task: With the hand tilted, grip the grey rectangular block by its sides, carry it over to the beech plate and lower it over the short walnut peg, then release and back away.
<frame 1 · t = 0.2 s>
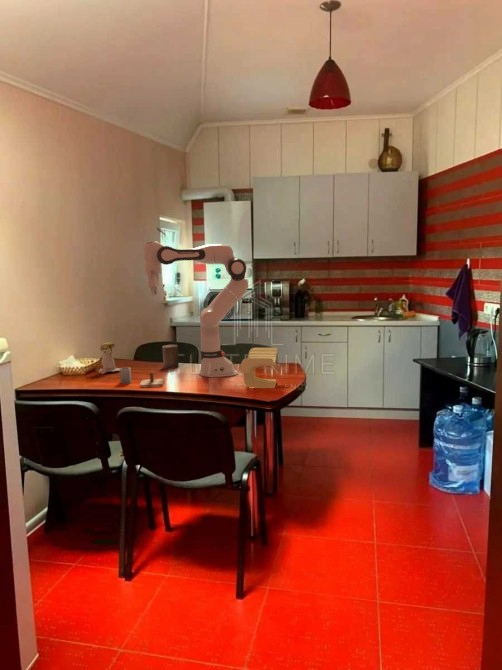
hand: (154, 294, 291), 48 cm above the table, tool pointing down, fingers open, 8 cm apart
grey rectangular block: (126, 382, 285), on the table
wooden slatted rack: (260, 385, 273), on the table
beige sitting figure: (109, 372, 314), on the table
post: (152, 384, 280), on the table
pillar candle: (171, 367, 324), on the table
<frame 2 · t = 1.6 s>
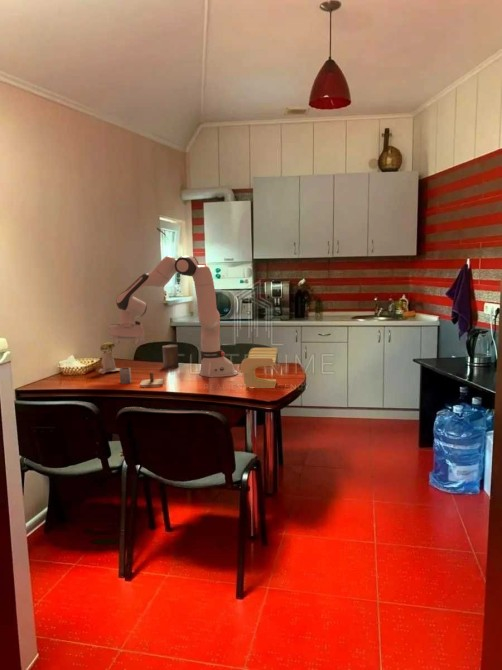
hand: (126, 344, 293), 20 cm above the table, tool tilted 45°, fingers open, 8 cm apart
nothing on the table moved.
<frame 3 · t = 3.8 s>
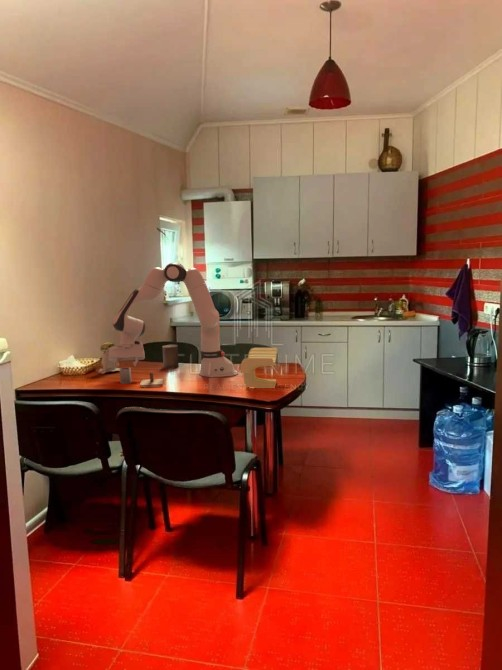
hand: (126, 365, 288), 9 cm above the table, tool tilted 45°, fingers open, 8 cm apart
nothing on the table moved.
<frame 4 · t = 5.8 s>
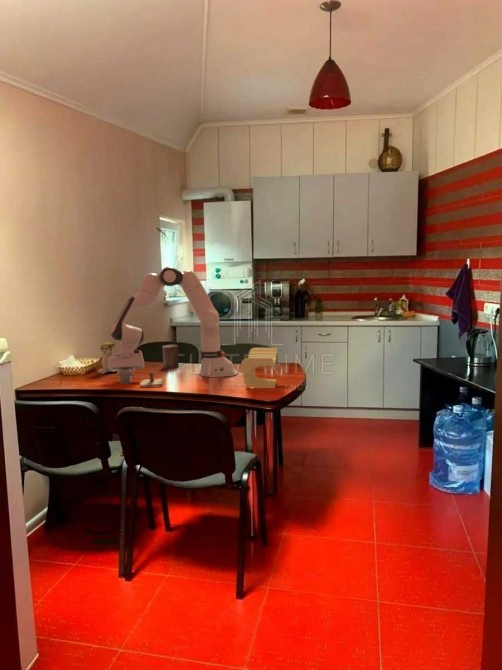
hand: (125, 375, 284), 4 cm above the table, tool tilted 45°, fingers closed on grey rectangular block, 5 cm apart
grey rectangular block: (126, 382, 285), on the table, touching gripper
everything else where it was.
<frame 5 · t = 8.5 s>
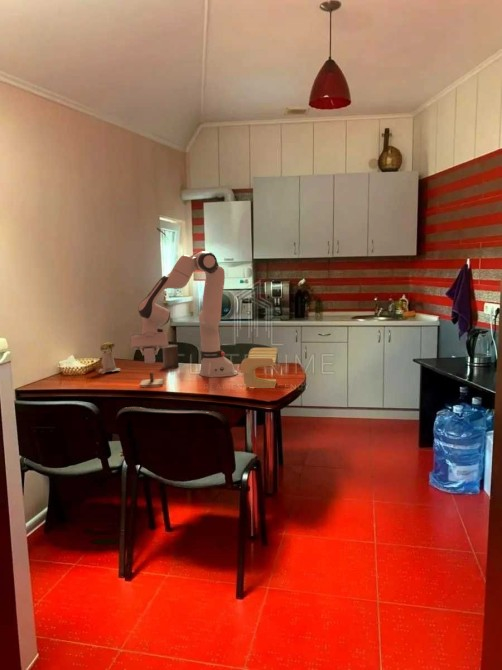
hand: (149, 354, 277), 17 cm above the table, tool tilted 45°, fingers closed on grey rectangular block, 5 cm apart
grey rectangular block: (150, 362, 278), point 12 cm above the table, touching gripper
everything else where it was.
when the fingers open (8 cm above the table, at t = 11.4 s): grey rectangular block drops 2 cm, resting on post.
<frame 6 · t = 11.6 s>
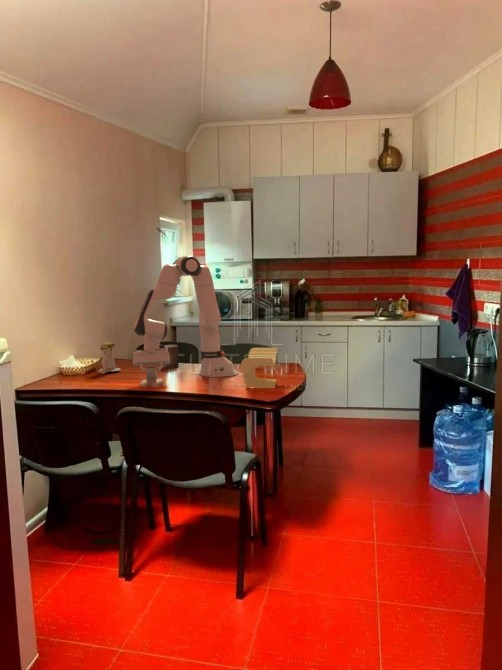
hand: (151, 370, 278), 8 cm above the table, tool tilted 45°, fingers open, 7 cm apart
grey rectangular block: (152, 381, 279), point 1 cm above the table, touching post
everything else where it was.
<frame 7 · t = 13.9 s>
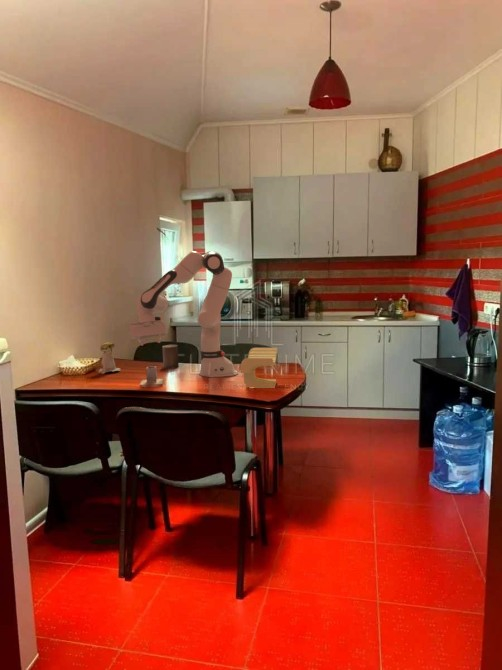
hand: (150, 344, 287), 21 cm above the table, tool tilted 30°, fingers open, 8 cm apart
nothing on the table moved.
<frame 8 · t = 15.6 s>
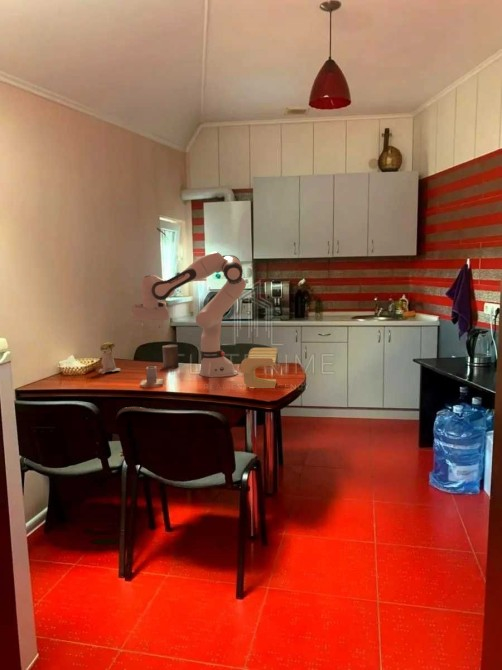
hand: (151, 328, 290), 29 cm above the table, tool pointing down, fingers open, 8 cm apart
nothing on the table moved.
at the end: grey rectangular block 0.1 cm off-centre on the post, point 1.5 cm above the post's base; grey rectangular block tilted 0°; the gripper is holding nothing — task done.
